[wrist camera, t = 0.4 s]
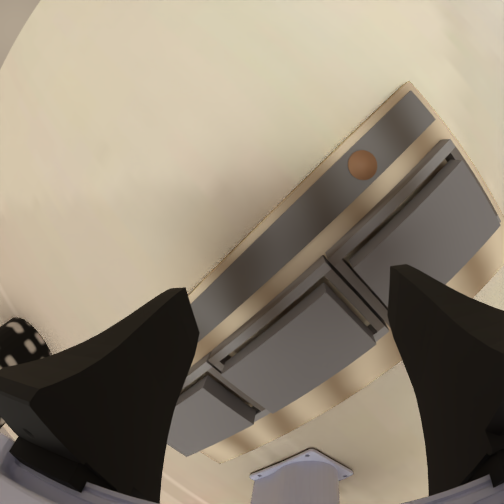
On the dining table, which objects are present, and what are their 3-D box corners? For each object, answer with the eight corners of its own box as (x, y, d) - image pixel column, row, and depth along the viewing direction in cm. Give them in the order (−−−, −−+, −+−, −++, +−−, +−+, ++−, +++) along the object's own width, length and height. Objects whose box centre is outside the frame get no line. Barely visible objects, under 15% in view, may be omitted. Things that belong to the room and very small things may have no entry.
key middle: (274, 400, 21) (272, 413, 20) (225, 362, 21) (220, 374, 19) (371, 331, 19) (376, 344, 17) (323, 281, 18) (326, 292, 17)
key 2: (190, 445, 24) (186, 456, 23) (149, 416, 24) (143, 427, 22) (255, 411, 22) (253, 424, 20) (207, 374, 21) (202, 387, 20)
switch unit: (222, 455, 28) (217, 473, 26) (111, 374, 26) (99, 389, 24) (509, 243, 18) (528, 252, 15) (403, 84, 16) (416, 75, 14)
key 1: (395, 312, 18) (401, 324, 17) (348, 259, 17) (353, 268, 16) (488, 220, 15) (500, 225, 14) (450, 159, 15) (462, 160, 13)
